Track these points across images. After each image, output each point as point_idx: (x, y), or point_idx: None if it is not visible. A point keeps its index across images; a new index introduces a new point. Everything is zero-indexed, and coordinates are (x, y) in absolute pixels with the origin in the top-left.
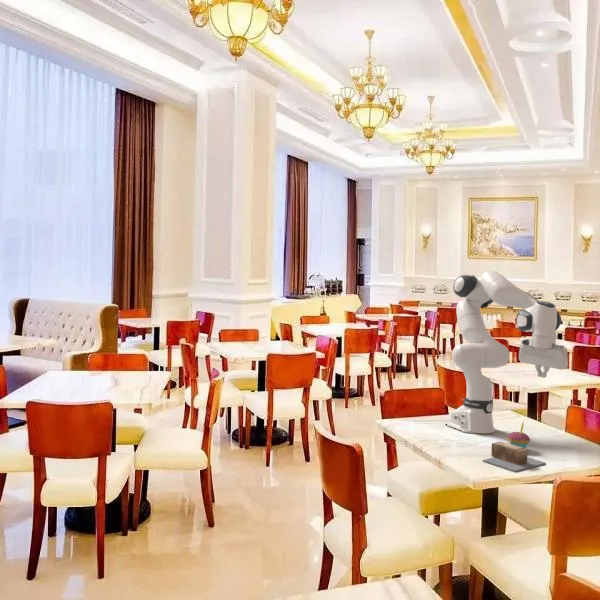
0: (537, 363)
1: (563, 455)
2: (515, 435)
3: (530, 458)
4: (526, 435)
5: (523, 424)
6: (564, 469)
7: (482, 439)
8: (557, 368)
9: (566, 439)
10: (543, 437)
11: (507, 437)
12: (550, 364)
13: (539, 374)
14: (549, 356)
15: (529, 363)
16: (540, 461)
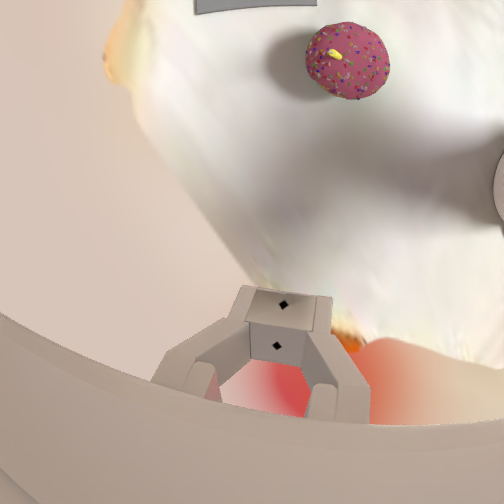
0: (296, 445)
1: (233, 133)
2: (343, 31)
3: (246, 3)
4: (321, 68)
5: (329, 54)
6: (149, 30)
7: (479, 87)
8: (4, 317)
9: (327, 285)
10: (377, 258)
11: (375, 33)
12: (39, 378)
13: (300, 309)
14: (9, 492)
15: (472, 424)
16: (211, 8)
